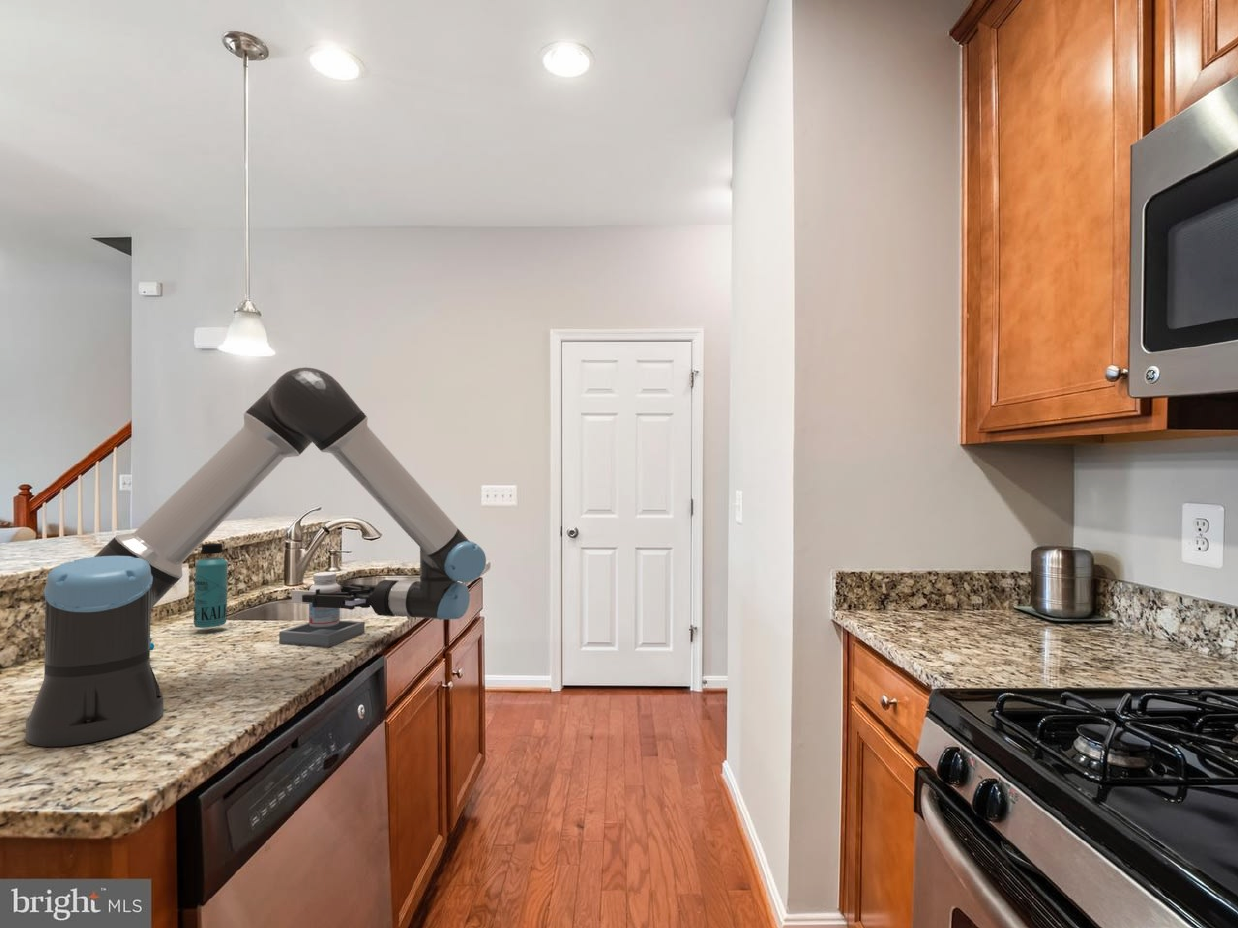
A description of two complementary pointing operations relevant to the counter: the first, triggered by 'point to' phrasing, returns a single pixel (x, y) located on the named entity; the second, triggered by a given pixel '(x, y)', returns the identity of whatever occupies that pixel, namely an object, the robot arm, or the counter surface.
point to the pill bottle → (324, 615)
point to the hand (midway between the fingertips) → (304, 593)
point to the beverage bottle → (210, 589)
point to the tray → (321, 634)
